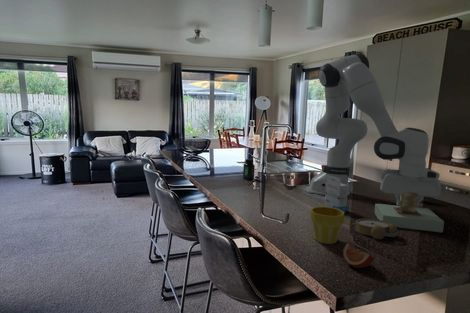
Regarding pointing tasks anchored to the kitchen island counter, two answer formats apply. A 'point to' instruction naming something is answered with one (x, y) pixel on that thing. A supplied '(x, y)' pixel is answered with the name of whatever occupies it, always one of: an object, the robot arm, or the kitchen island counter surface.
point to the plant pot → (326, 223)
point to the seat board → (409, 218)
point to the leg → (408, 202)
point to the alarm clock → (376, 228)
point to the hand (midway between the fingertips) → (407, 205)
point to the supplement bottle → (248, 170)
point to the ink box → (336, 194)
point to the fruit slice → (356, 256)
